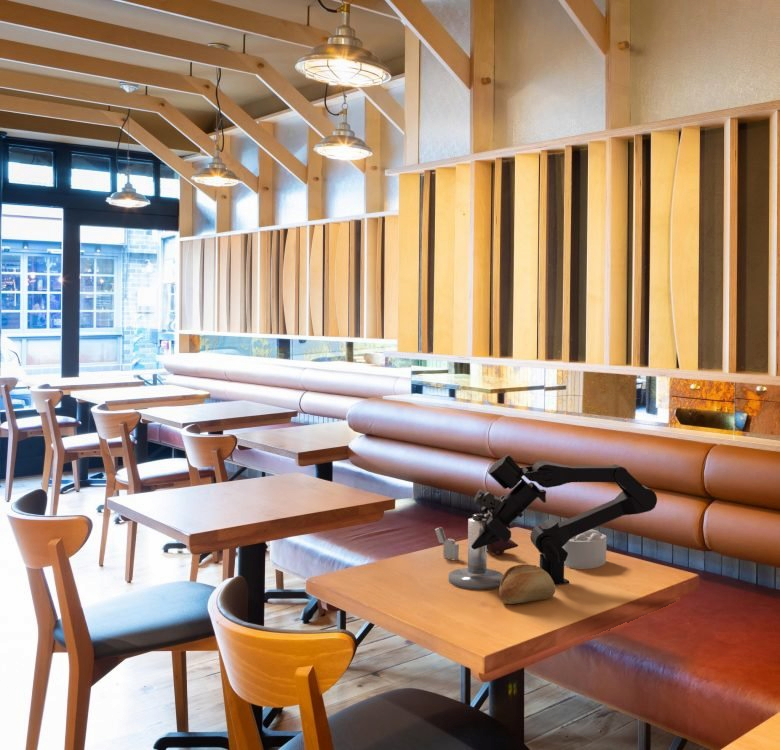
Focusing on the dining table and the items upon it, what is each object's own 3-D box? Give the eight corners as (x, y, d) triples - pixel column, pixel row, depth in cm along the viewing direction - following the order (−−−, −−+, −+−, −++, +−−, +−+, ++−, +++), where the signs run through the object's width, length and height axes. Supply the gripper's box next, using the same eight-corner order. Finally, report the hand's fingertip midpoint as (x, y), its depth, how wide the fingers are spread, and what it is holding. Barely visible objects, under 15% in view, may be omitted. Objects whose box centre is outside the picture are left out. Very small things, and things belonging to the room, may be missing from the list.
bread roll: (487, 600, 188) (487, 566, 188) (535, 589, 196) (536, 556, 196) (515, 612, 180) (515, 577, 179) (564, 600, 188) (564, 566, 188)
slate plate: (515, 586, 198) (515, 581, 198) (463, 592, 193) (463, 587, 193) (488, 570, 211) (488, 565, 211) (439, 575, 206) (439, 570, 206)
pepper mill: (489, 573, 201) (490, 516, 200) (473, 575, 199) (473, 517, 198) (481, 567, 205) (481, 512, 204) (464, 569, 203) (465, 513, 202)
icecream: (528, 533, 224) (488, 528, 235) (510, 531, 219) (470, 525, 231) (525, 559, 222) (485, 552, 234) (506, 557, 218) (467, 550, 230)
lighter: (458, 559, 221) (459, 530, 221) (455, 560, 220) (455, 531, 219) (438, 554, 226) (438, 526, 225) (434, 555, 224) (434, 527, 224)
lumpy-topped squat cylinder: (610, 561, 220) (611, 530, 219) (586, 571, 210) (587, 538, 210) (576, 554, 227) (577, 523, 226) (551, 563, 217) (552, 531, 217)
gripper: (490, 472, 210) (447, 514, 211) (497, 486, 191) (450, 532, 192) (520, 502, 210) (477, 544, 211) (530, 519, 191) (483, 565, 192)
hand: (471, 545), depth 202 cm, fingers closed on pepper mill, 4 cm apart
